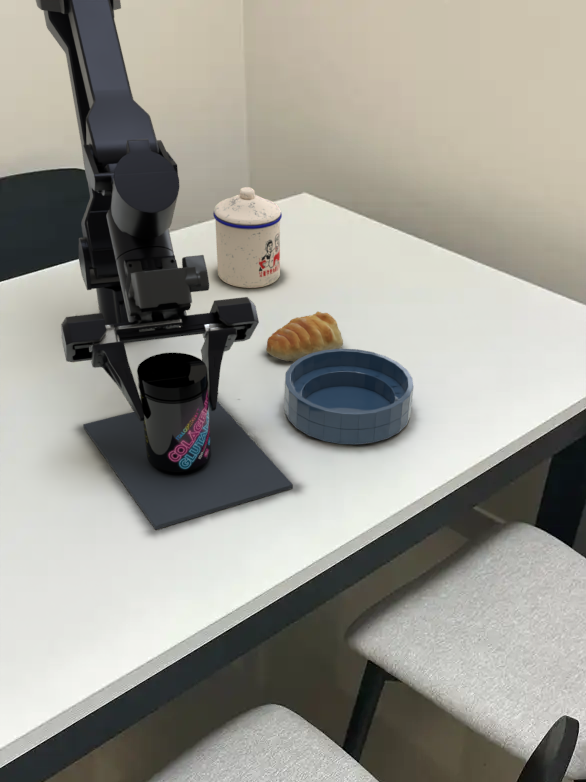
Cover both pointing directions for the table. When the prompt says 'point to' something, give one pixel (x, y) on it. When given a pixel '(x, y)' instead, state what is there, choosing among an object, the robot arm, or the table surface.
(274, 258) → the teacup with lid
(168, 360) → the supplement container
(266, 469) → the placemat
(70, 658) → the table surface
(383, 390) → the bowl
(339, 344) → the pastry
